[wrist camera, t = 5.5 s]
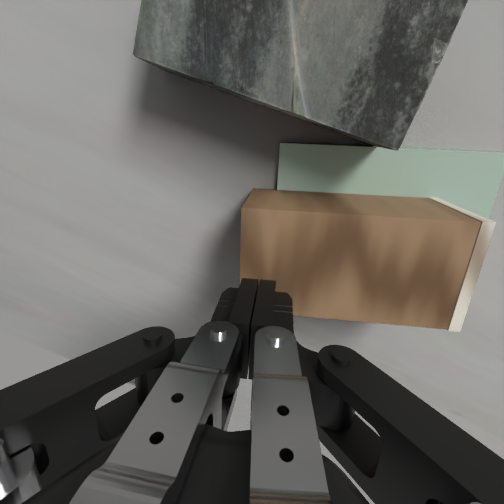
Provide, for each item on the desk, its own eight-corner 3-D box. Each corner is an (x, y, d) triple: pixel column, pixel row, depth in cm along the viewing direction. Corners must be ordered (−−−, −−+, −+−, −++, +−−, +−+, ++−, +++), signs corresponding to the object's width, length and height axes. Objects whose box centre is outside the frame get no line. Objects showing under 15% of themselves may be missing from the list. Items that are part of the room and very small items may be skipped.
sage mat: (280, 142, 20) (279, 143, 20) (506, 152, 19) (510, 152, 19) (269, 302, 25) (269, 304, 24) (453, 317, 23) (456, 320, 23)
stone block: (200, -109, 17) (165, -211, 12) (448, -13, 17) (515, -73, 12) (164, 72, 20) (124, 51, 15) (373, 149, 20) (401, 153, 15)
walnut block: (241, 206, 15) (496, 222, 14) (253, 187, 21) (437, 197, 20) (238, 311, 18) (459, 331, 17) (250, 268, 23) (416, 281, 22)
